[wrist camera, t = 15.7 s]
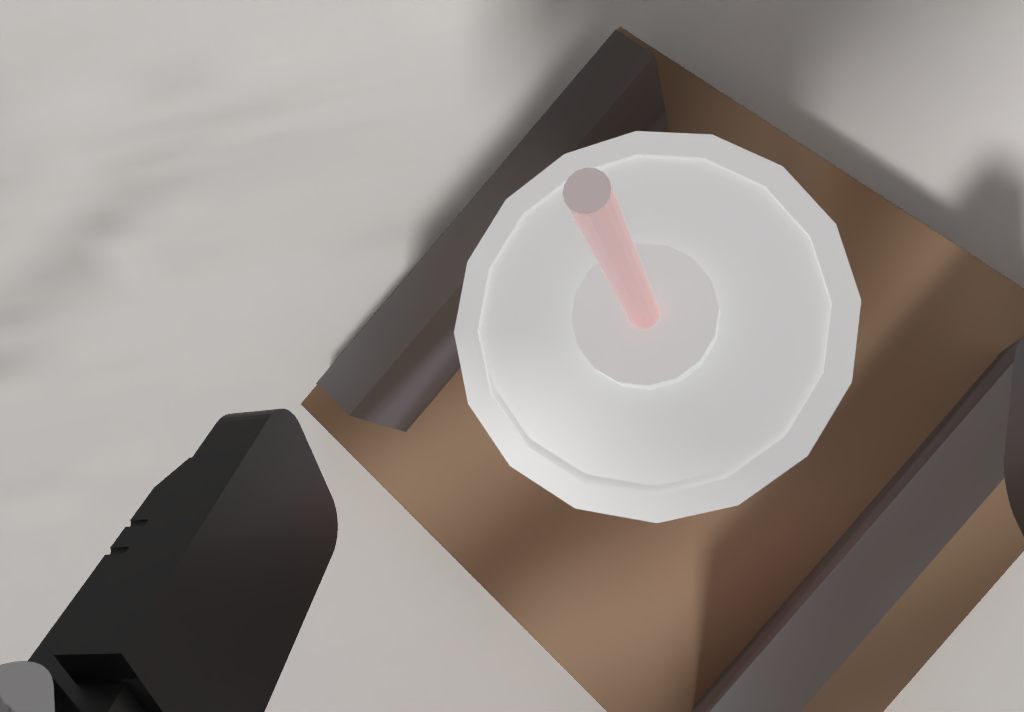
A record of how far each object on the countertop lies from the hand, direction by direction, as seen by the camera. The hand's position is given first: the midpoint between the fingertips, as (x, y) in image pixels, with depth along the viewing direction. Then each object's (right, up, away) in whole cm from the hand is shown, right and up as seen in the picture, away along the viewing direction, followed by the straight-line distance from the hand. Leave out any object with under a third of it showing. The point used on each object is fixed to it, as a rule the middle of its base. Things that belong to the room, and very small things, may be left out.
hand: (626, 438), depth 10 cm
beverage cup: (+3, 0, +12) cm, 12 cm away
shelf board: (+3, 0, +13) cm, 14 cm away
